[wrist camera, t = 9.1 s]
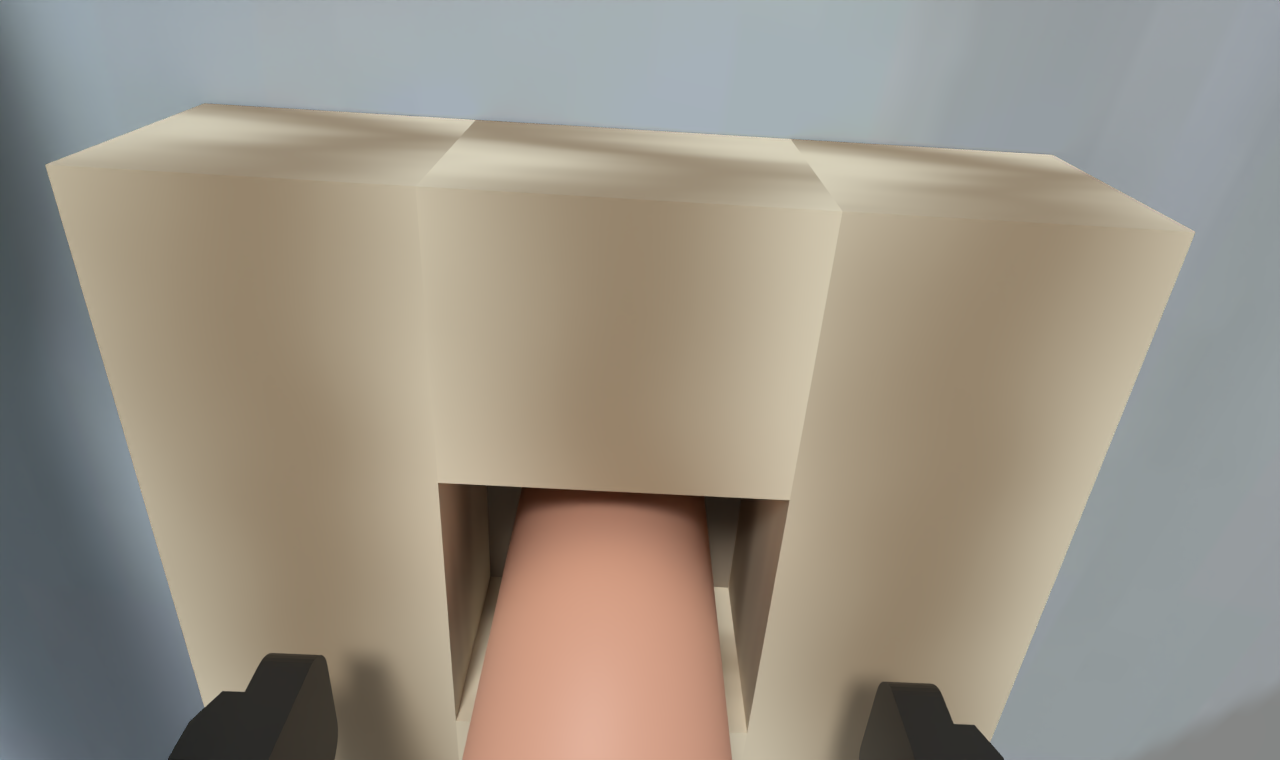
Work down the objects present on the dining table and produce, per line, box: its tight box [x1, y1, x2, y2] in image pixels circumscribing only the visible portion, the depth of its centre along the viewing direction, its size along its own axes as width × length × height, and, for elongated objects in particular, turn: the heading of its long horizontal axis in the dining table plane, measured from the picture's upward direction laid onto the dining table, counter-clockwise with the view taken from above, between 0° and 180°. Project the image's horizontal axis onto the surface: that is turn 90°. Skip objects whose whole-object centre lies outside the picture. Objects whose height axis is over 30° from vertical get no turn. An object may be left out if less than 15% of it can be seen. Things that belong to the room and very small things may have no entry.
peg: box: [462, 487, 732, 760], centre depth 13 cm, size 4×4×8 cm
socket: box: [46, 104, 1195, 760], centre depth 15 cm, size 14×14×4 cm
